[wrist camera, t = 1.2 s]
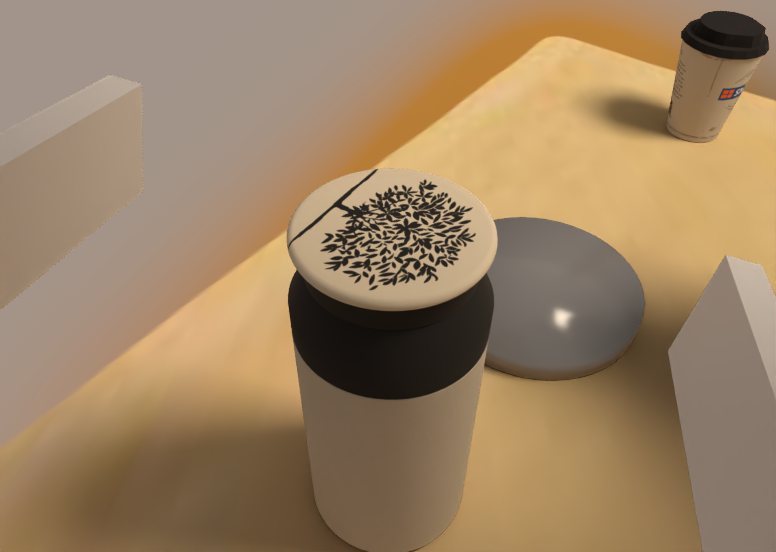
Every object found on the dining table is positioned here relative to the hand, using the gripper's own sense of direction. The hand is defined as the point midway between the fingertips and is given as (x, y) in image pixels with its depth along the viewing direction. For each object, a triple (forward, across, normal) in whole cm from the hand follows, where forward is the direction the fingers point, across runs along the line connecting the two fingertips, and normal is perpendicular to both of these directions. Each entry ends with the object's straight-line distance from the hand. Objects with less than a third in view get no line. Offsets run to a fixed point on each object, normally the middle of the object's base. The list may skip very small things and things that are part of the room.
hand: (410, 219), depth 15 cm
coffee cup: (+51, +19, -12) cm, 56 cm away
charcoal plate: (+26, +8, -18) cm, 33 cm away
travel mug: (+11, +2, -22) cm, 25 cm away
